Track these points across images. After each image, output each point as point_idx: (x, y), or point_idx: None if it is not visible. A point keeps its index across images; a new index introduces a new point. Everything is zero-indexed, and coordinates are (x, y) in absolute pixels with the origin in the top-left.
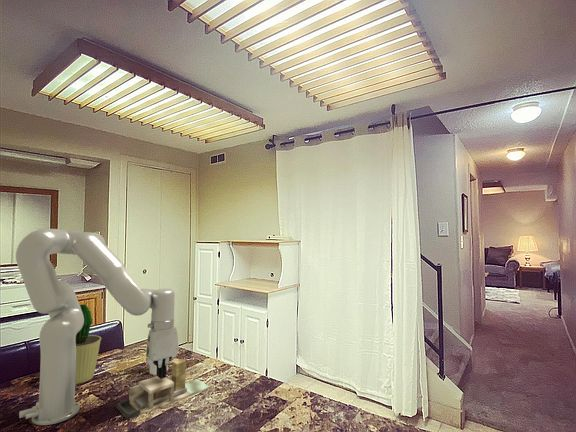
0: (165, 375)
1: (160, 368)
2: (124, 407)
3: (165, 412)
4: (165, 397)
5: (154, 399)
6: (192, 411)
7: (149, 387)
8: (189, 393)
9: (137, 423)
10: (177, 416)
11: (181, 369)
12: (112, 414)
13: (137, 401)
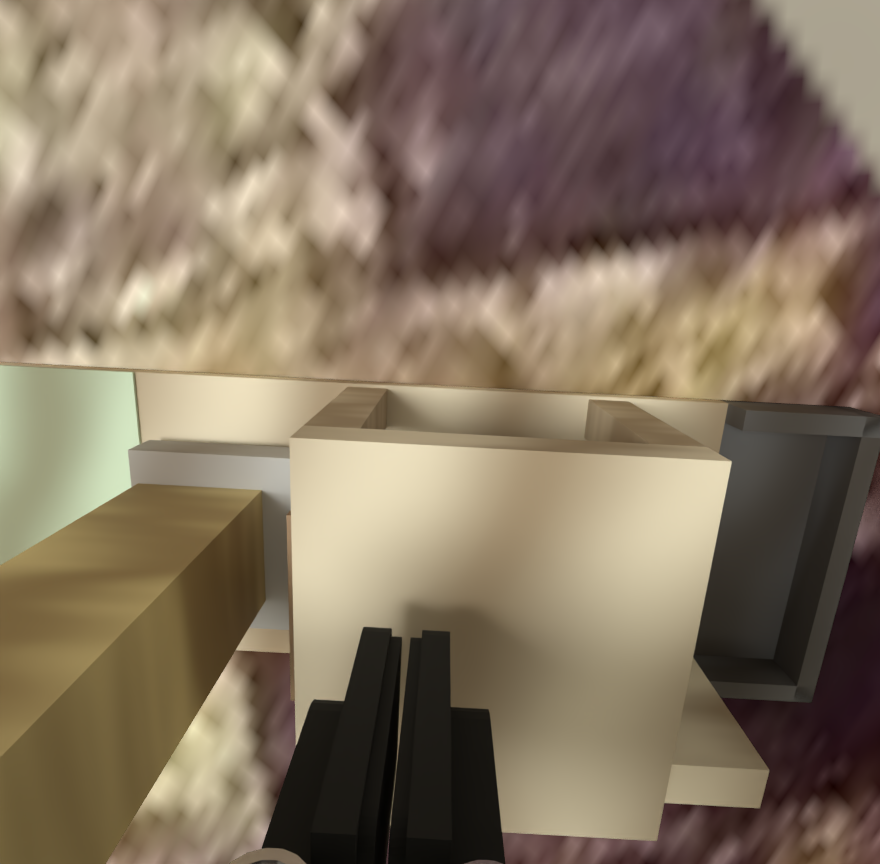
0: (364, 648)
1: (453, 847)
2: (742, 626)
3: (526, 241)
4: None
5: None
6: (299, 4)
7: (668, 572)
8: (141, 398)
9: (833, 258)
10: (482, 43)
11: None
12: (867, 595)
13: None
